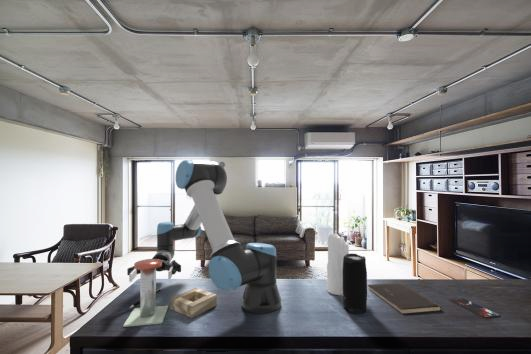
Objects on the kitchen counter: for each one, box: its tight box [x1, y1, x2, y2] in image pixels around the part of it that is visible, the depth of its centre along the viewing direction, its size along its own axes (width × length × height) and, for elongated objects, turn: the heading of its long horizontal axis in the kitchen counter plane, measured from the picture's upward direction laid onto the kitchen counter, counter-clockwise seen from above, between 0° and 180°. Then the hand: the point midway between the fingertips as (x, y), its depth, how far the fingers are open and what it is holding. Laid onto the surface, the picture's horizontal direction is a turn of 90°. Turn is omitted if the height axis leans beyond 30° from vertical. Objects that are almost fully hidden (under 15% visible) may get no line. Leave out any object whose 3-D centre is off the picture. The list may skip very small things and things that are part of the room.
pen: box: [129, 288, 163, 309], centre depth 110 cm, size 1×19×1 cm, turn 164°
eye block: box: [170, 287, 218, 319], centre depth 101 cm, size 12×12×4 cm
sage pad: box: [123, 305, 169, 328], centre depth 94 cm, size 12×12×1 cm
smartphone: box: [448, 297, 501, 319], centre depth 100 cm, size 7×1×15 cm
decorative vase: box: [325, 232, 350, 296], centre depth 117 cm, size 11×11×25 cm
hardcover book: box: [367, 282, 442, 314], centre depth 108 cm, size 16×23×2 cm
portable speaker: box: [342, 253, 368, 315], centre depth 99 cm, size 9×9×20 cm
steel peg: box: [133, 258, 162, 318], centre depth 94 cm, size 9×9×18 cm
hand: (150, 276), depth 99 cm, fingers open, 13 cm apart
